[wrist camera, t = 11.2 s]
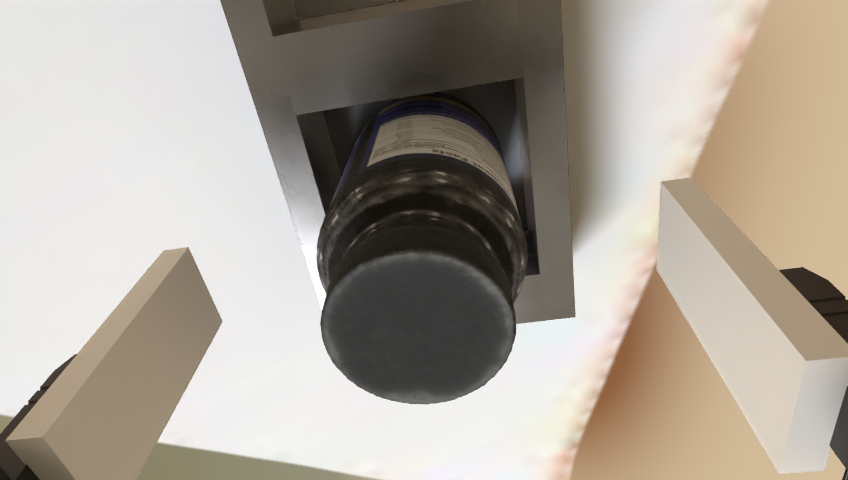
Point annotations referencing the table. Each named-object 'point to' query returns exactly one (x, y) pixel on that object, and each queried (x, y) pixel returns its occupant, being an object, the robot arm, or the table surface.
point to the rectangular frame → (408, 76)
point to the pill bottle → (422, 254)
